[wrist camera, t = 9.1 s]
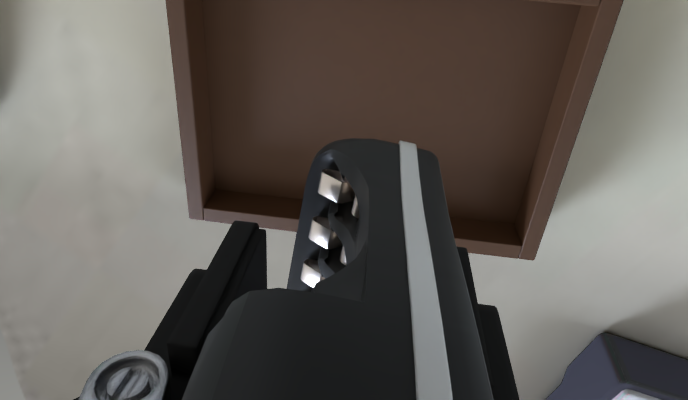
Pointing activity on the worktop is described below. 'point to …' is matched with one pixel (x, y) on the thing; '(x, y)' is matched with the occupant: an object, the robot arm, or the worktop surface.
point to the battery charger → (356, 294)
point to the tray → (387, 101)
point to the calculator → (623, 373)
